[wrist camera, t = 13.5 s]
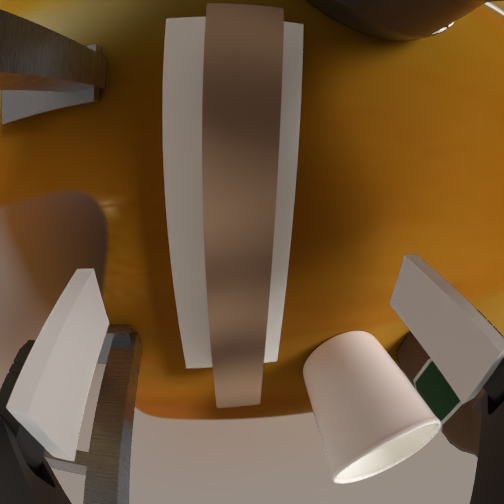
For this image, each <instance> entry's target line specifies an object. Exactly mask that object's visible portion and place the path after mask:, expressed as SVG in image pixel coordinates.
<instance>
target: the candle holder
mask: <svg viewBox="0 0 504 504" xmlns="http://www.w3.org/2000/svg"><path fill="white" fill-rule="evenodd" d="M303 377H304V381H305V385H306V389H307V392H308V396H309V399H310V402H311V406H312V409H313V413H314V416H315V419H316V423H317V426H318V429H319V433H320V436H321V440H322V443H323V446H324V450H325V453H326V457H327V460H328V464H329V467H330V471H331V478H332V480H333V482H335V483H338V484H340V483H341V484H343V483H351V482H355V481H359V480H362V479H365V478H368V477H371V476H373V475H376V474H378V473H380V472H383V471H385V470H387V469H389V468H391V467H393V466H395V465H396V464H398V463H400V462H402V461H403V460H405V459H407V458H408V457H409V456H411V455H412V454H414V453H415V452H417V451H418V450H419V449H421V448H422V447H423V446H424V445H425V444H427V443H428V442H429V441H430V440H431V439H432V438H433V437H434V436H435V435H436V434H437V432H438V431H439V429H440V427H441V421H440V420H439V419H438V418H437V417H436V416H435V414H434V413H433V412H432V410H431V409H430V408H429V406H428V405H427V404H426V402H425V401H424V400H423V398H422V397H421V396H420V394H419V393H418V392H417V390H416V389H415V388H414V386H413V385H412V384H411V382H410V381H409V380H408V378H407V377H406V376H405V374H404V373H403V372H402V371H401V369H400V368H399V367H398V365H397V364H396V363H395V361H394V360H393V359H392V358H391V356H390V355H389V354H388V353H387V351H386V350H385V349H384V348H383V346H382V345H381V344H380V343H379V341H378V340H377V339H376V338H375V337H374V336H373V335H371V334H370V333H368V332H365V331H350V332H345V333H342V334H339V335H337V336H335V337H332V338H331V339H329V340H327V341H325V342H324V343H322V344H321V345H320V346H319V347H317V348H316V349H315V350H314V351H313V352H312V353H311V354H310V356H309V357H308V359H307V360H306V362H305V364H304V368H303Z"/></svg>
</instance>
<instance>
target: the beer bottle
mask: <svg viewBox="0 0 504 504" xmlns="http://www.w3.org/2000/svg"><path fill="white" fill-rule="evenodd" d="M397 356H398V359H399V362H400V365H401V367H402V369H403V371H404V372H405V374H406V376H407V377H408V379H409V380H410V382H411V384H412V385H413V386H414V388H415V389H416V390H417V392H418V393H419V394H420V396H421V397H422V398H423V400H424V401H425V402H426V404H427V405H428V406H429V408H430V409H431V410H432V412H433V413H434V414H435V416H436V417H437V418H438V419H439V420H440V421H441V427H440V430H441V431H442V433H443V434H444V435H445V437H446V438H447V440H448V441H449V442H450V443H451V444H452V445H454V446H455V447H456V448H458V449H459V450H461V451H464V452H467V453H471V454H474V455H476V456H477V457H478V453H479V443H480V430H481V413H479V412H477V410H478V409H479V407H480V406H481V404H480V405H479V406H478V407H477V408H476V409H475V410H474V411H472V408H473V406H474V405H475V404H476V402H477V401H478V400H479V399H480V397H481V396H482V395H483V394H484V392H485V390H484V388H482V389H481V390H480V391H479V393H478V394H477V395H476V396H475V398H473V399H471V400H470V401H468V402H466V403H464V404H462V402H461V401H460V399H459V398H458V396H457V395H456V393H455V392H454V390H453V389H452V387H451V386H450V384H449V383H448V382H447V380H446V379H445V377H444V376H443V374H442V373H441V372H440V370H439V369H438V367H437V366H436V365H435V363H434V362H433V360H432V359H431V358H430V356H429V355H428V354H427V352H426V351H425V350H424V348H423V347H422V346H421V344H420V343H419V342H418V340H417V339H416V338H415V336H414V335H413V334H412V332H411V331H410V332H409V333H408V334H407V335H406V337H405V339H404V340H403V342H402V344H401V345H400V347H399V348H398V350H397Z"/></svg>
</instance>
